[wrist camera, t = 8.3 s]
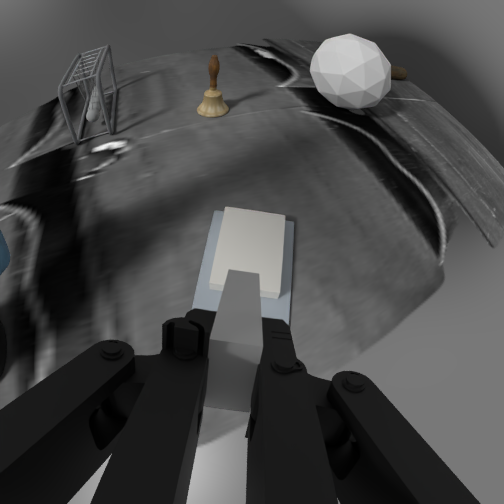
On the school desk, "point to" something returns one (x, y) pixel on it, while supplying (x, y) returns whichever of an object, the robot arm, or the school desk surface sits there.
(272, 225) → the tile
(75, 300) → the school desk surface
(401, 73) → the brown hollow tube
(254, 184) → the school desk surface
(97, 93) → the newton's cradle
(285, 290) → the mat
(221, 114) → the hand bell
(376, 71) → the geometric polyhedron
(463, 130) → the school desk surface
